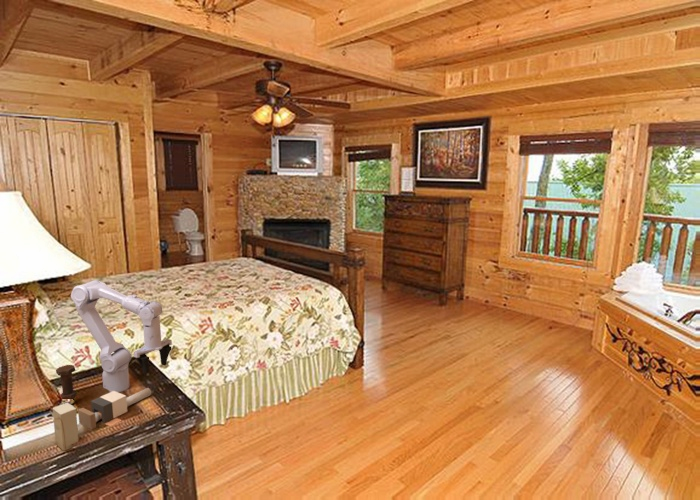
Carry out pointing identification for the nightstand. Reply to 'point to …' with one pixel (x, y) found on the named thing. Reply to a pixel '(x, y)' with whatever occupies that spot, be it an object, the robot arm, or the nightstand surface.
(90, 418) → the pipe clamp
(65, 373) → the bolt
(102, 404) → the dark grey block
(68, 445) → the skincare box
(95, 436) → the nightstand surface
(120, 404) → the sleeve
